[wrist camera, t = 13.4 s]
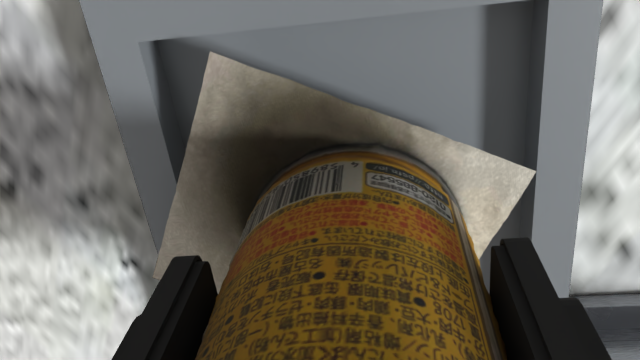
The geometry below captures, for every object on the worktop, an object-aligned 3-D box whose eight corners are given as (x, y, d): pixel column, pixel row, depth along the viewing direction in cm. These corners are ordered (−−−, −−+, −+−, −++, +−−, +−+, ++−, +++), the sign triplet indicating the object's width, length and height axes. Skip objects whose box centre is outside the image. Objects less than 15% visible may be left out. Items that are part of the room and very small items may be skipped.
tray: (113, -13, 15) (78, -2, 13) (578, -70, 13) (610, -66, 12) (213, 344, 21) (198, 385, 19) (541, 334, 19) (559, 377, 18)
